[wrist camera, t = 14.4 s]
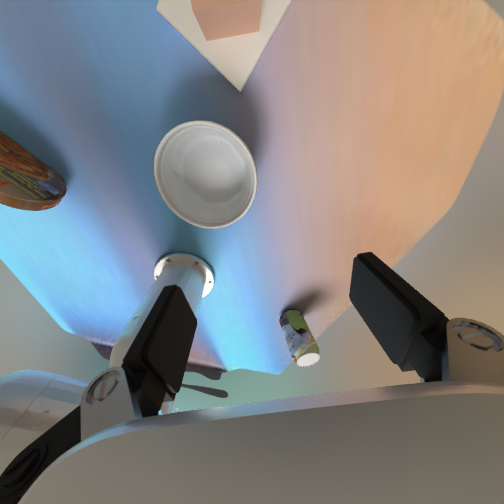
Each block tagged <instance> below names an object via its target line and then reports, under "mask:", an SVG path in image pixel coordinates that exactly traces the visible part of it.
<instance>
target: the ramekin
mask: <svg viewBox="0 0 504 504" xmlns="http://www.w3.org/2000/svg"><path fill="white" fill-rule="evenodd" d="M154 177H155V181H156V185H157V188H158V190H159V193H160V195H161V197H162V198H163V200H164V201H165V203H166V204H167V206H168V207H169V208H170V209H171V210H172V211H173V212H174V213H175V214H176V215H177V216H178V217H180V218H181V219H183V220H184V221H186V222H188V223H190V224H192V225H194V226H197V227H201V228H208V229H215V228H222V227H226V226H229V225H231V224H233V223H235V222H236V221H238V220H239V219H240V218H242V217H243V216H244V215H245V213H246V212H247V211H248V210H249V208H250V207H251V205H252V203H253V200H254V198H255V194H256V189H257V170H256V166H255V162H254V159H253V157H252V154H251V152H250V150H249V149H248V147H247V145H246V144H245V143H244V141H243V140H242V139H241V138H240V137H239V136H238V135H237V134H236V133H234V132H233V131H232V130H230V129H229V128H227V127H225V126H223V125H221V124H218V123H215V122H212V121H206V120H193V121H188V122H184V123H181V124H179V125H177V126H175V127H174V128H172V129H171V130H170V131H169V132H167V133H166V135H165V136H164V137H163V138H162V140H161V141H160V143H159V145H158V147H157V150H156V152H155V157H154Z"/></svg>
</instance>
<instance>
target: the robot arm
mask: <svg viewBox="0 0 504 504" xmlns="http://www.w3.org/2000/svg"><path fill="white" fill-rule="evenodd" d="M154 278H155V282H154V284H153V285H152V287H151V288H150V290H149V291H148V293H147V294H146V296H145V297H144V299H143V301H142V302H141V304H140V305H139V307H138V308H137V310H136V311H135V313H134V314H133V316H132V317H131V319H130V320H129V322H128V323H127V325H126V327H125V328H124V330H123V331H122V333H121V334H120V336H119V337H118V339H117V341H116V342H115V344H114V347H113V349H112V353H111V357H110V368H108V369H106V370H105V371H103V372H101V373H100V374H99V375H98V376H96V377H95V378H94V379H93V380H92V381H91V382H90V383H89V382H85V381H81V380H77V379H74V378H70V377H66V376H62V375H57V374H53V373H49V372H44V371H38V370H20V371H15V372H11V373H8V374H5V375H2V376H0V504H504V336H503V335H502V334H501V333H500V332H498V331H497V330H495V329H494V328H492V327H490V326H488V325H486V324H484V323H482V322H478V321H476V320H472V319H467V318H454V319H451V320H449V319H448V318H447V317H446V316H444V313H443V312H441V311H440V310H439V309H438V308H437V307H436V306H434V305H433V304H432V303H431V302H429V301H428V300H427V299H426V298H425V297H424V296H423V295H421V294H420V293H419V292H418V291H417V290H415V289H414V288H413V287H412V286H411V285H410V284H408V283H407V282H406V281H405V280H404V279H403V278H401V277H400V276H399V275H398V274H397V273H395V272H394V271H393V270H392V269H391V268H390V267H388V266H387V265H386V264H385V263H384V262H383V261H381V260H380V259H379V258H378V257H377V256H375V255H374V254H373V253H372V252H366V253H360V254H358V255H357V257H355V258H354V261H353V269H352V277H351V285H350V294H349V297H350V300H351V302H352V304H353V305H354V307H355V308H356V309H357V311H358V312H359V314H360V315H361V317H362V318H363V320H364V321H365V323H366V324H367V326H368V327H369V329H370V330H371V332H372V333H373V335H374V336H375V338H376V339H377V340H378V342H379V343H380V345H381V346H382V348H383V349H384V351H385V352H386V354H387V355H388V357H389V358H390V360H391V361H392V362H393V363H394V364H398V366H399V367H400V369H401V370H402V371H403V372H404V371H412V370H416V372H417V373H418V375H419V376H420V383H416V384H405V385H395V386H385V387H377V388H369V389H360V390H352V391H343V392H335V393H326V394H318V395H310V396H302V397H295V398H285V399H277V400H269V401H261V402H253V403H246V404H237V405H230V406H222V407H214V408H206V409H199V410H191V411H184V412H177V413H172V407H173V402H174V399H175V395H176V393H177V392H179V390H180V387H181V384H182V380H183V376H184V372H185V368H186V365H187V361H188V357H189V353H190V349H191V346H192V342H193V338H194V334H195V330H196V327H197V319H196V316H197V313H198V310H199V306H200V303H201V300H202V297H204V296H206V295H207V294H208V293H209V292H210V291H211V289H212V287H213V284H214V274H213V272H212V270H211V268H210V267H209V265H208V264H207V263H206V262H204V261H203V260H202V259H200V258H198V257H196V256H194V255H191V254H187V253H173V254H169V255H166V256H164V257H163V258H162V259H160V261H159V262H158V263H157V265H156V266H155V269H154Z"/></svg>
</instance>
